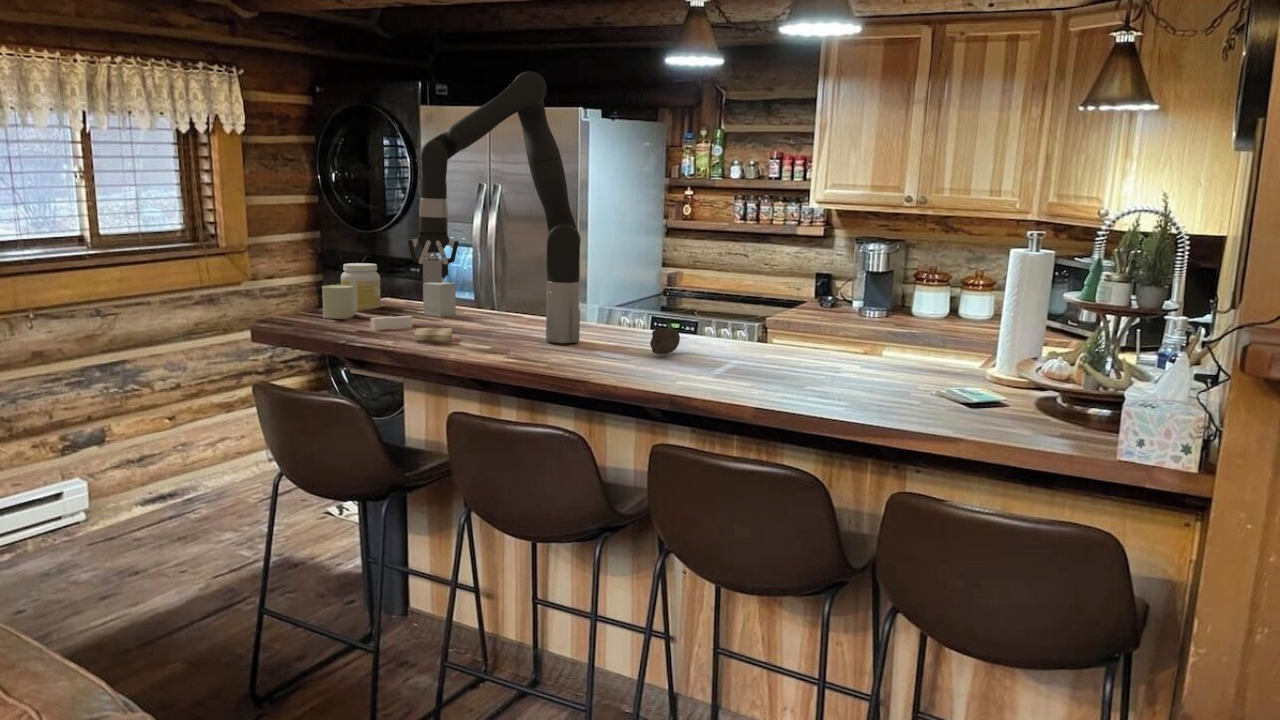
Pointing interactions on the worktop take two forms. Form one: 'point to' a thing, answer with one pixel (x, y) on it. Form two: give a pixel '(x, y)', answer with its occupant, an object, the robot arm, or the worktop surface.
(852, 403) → the worktop surface
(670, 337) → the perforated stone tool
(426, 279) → the block
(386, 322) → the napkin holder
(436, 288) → the supplement box
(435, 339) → the stand
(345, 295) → the can
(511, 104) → the robot arm
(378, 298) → the supplement tub
